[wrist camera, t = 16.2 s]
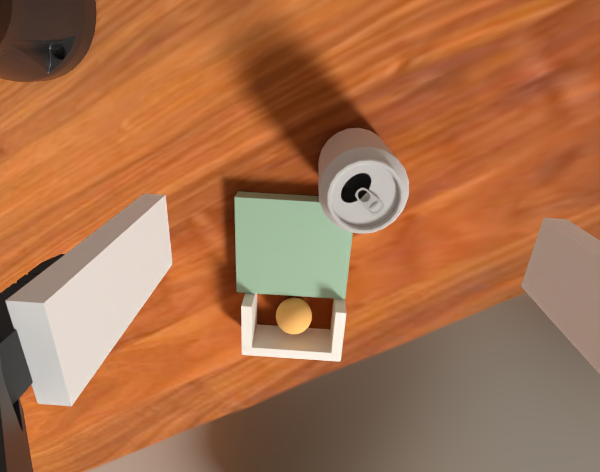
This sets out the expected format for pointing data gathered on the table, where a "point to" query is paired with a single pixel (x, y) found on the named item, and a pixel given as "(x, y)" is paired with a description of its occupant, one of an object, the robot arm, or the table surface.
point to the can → (360, 181)
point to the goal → (292, 335)
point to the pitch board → (289, 247)
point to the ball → (293, 315)
